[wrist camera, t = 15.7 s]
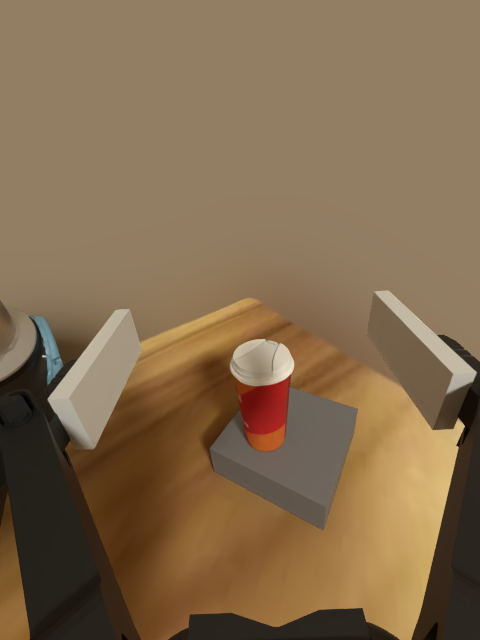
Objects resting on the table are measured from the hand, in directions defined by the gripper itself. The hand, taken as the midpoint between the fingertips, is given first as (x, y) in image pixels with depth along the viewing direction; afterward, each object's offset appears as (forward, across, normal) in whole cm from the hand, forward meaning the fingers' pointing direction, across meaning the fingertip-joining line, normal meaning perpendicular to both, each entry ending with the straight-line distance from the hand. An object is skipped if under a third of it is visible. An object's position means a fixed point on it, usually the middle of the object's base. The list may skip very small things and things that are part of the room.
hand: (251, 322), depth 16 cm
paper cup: (+14, +1, -27) cm, 30 cm away
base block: (+15, +4, -32) cm, 35 cm away
